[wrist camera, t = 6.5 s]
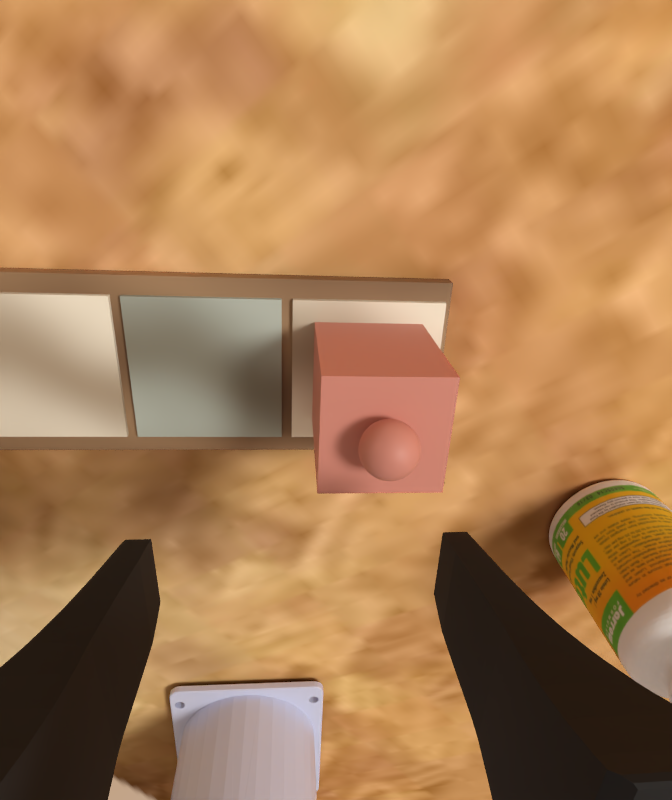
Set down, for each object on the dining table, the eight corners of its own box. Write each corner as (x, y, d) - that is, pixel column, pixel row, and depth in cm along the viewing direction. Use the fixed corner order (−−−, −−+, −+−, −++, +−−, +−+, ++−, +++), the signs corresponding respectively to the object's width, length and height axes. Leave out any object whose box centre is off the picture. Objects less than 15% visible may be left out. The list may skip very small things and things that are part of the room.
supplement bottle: (534, 500, 25) (663, 692, 17) (649, 459, 25) (844, 635, 16) (557, 580, 28) (681, 785, 19) (663, 544, 27) (840, 738, 18)
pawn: (411, 419, 22) (455, 523, 16) (312, 419, 22) (320, 525, 16) (422, 324, 20) (476, 401, 14) (314, 322, 20) (324, 400, 14)
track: (427, 442, 23) (431, 451, 23) (-176, 441, 21) (-192, 452, 21) (448, 279, 20) (454, 284, 20) (-251, 261, 18) (-273, 266, 18)
